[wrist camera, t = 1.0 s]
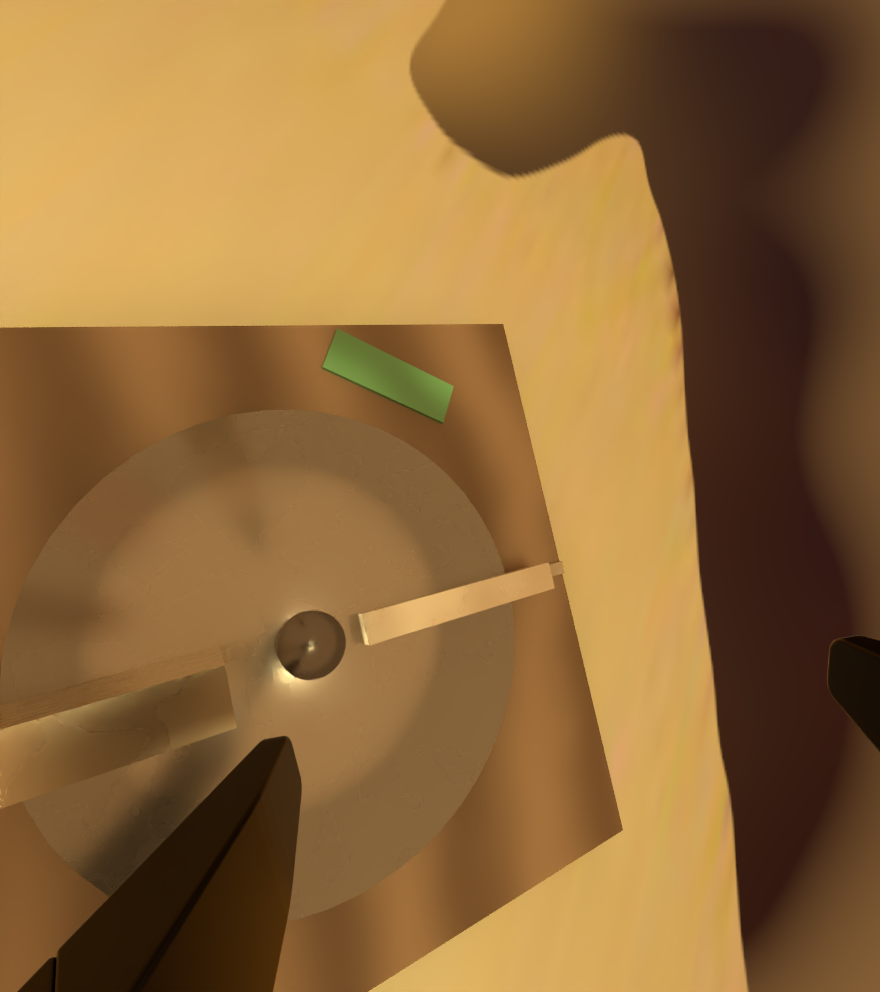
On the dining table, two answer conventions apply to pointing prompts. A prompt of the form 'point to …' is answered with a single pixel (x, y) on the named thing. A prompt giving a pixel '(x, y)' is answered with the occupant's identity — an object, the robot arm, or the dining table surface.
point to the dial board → (451, 446)
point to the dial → (261, 647)
